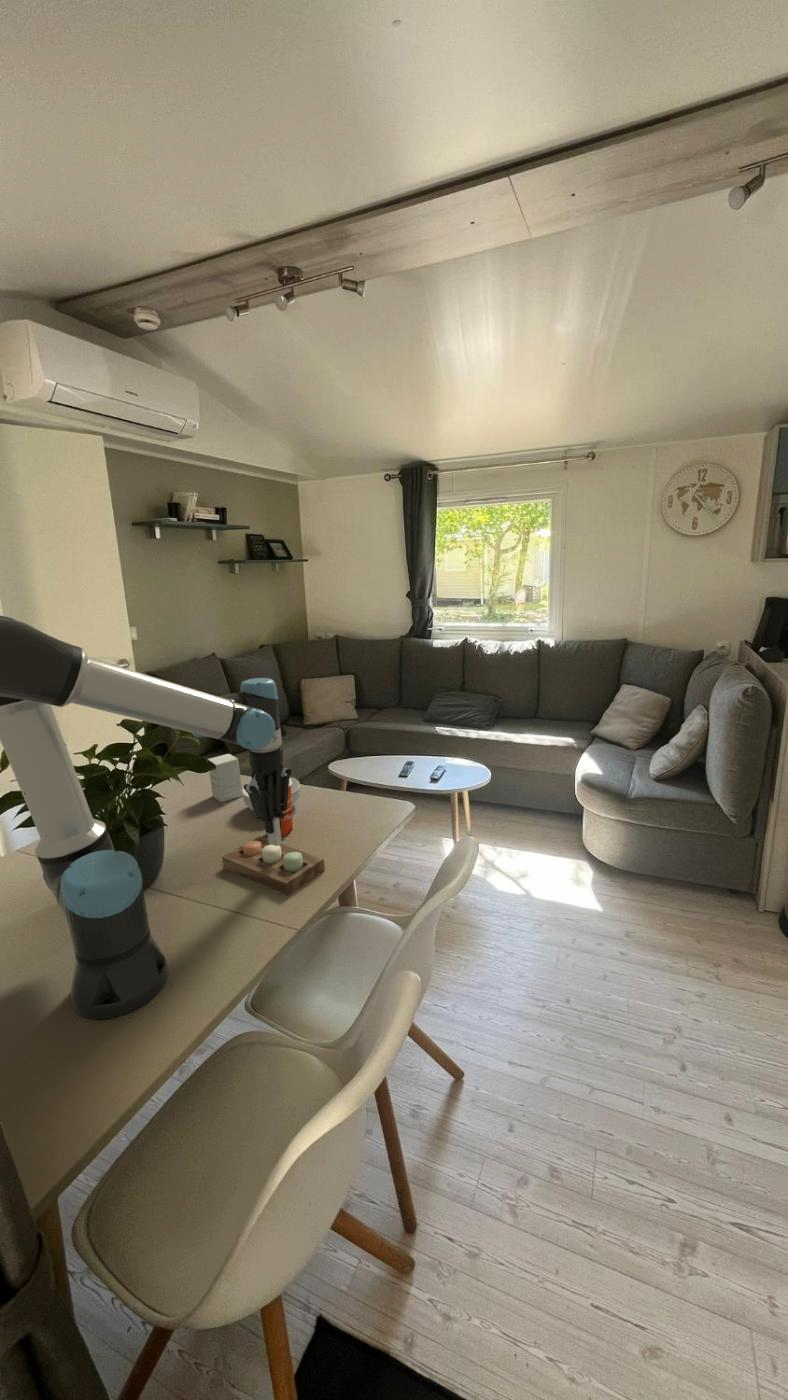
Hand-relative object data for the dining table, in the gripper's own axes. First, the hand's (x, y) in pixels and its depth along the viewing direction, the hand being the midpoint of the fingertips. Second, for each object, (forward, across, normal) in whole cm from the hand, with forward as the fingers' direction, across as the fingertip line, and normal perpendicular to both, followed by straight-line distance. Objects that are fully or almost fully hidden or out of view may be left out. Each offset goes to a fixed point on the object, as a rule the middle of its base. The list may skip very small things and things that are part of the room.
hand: (275, 843), depth 131 cm
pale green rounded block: (+6, 0, -5) cm, 8 cm away
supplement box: (+8, +25, +47) cm, 54 cm away
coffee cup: (+7, +16, +14) cm, 22 cm away
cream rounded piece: (+6, 0, +2) cm, 6 cm away
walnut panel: (+7, 0, +2) cm, 8 cm away
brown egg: (+7, 0, +9) cm, 11 cm away
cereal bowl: (+8, +25, +27) cm, 37 cm away
